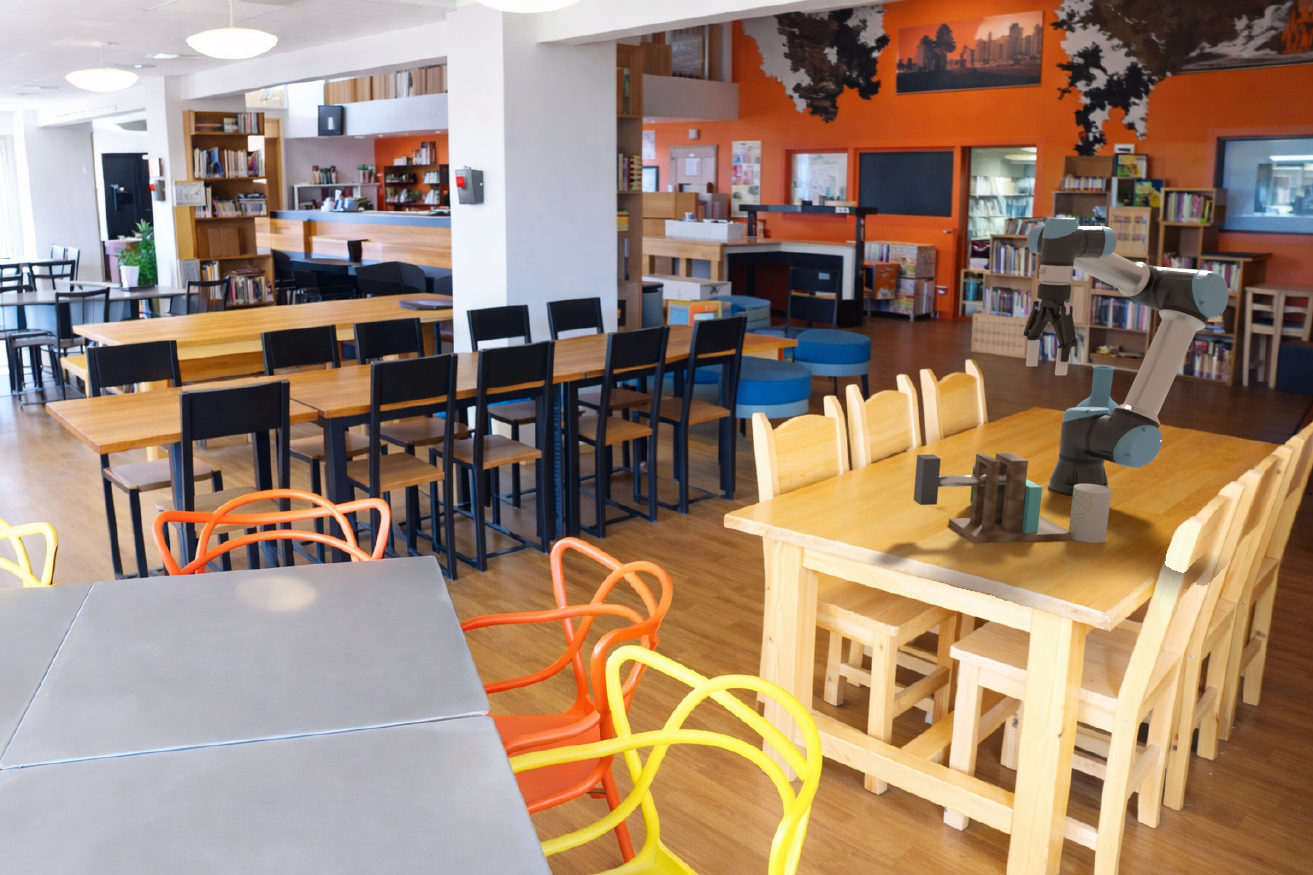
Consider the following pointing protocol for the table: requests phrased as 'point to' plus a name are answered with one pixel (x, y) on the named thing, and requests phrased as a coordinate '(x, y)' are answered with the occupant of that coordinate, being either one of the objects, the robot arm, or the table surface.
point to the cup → (1089, 513)
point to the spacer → (1031, 507)
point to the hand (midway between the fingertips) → (1045, 370)
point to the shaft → (941, 480)
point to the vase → (1101, 389)
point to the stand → (1002, 504)
